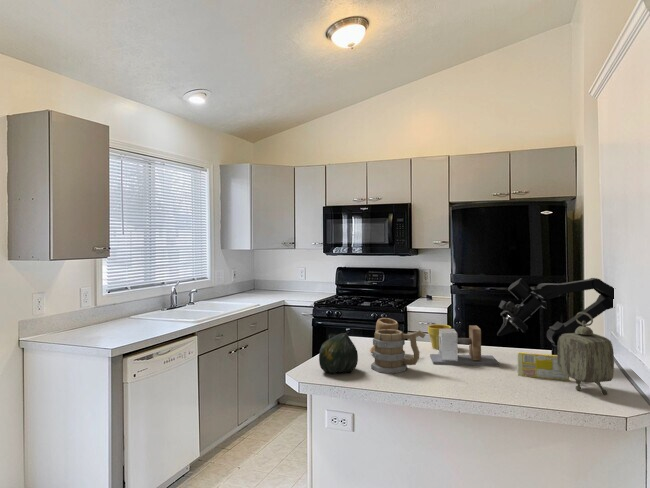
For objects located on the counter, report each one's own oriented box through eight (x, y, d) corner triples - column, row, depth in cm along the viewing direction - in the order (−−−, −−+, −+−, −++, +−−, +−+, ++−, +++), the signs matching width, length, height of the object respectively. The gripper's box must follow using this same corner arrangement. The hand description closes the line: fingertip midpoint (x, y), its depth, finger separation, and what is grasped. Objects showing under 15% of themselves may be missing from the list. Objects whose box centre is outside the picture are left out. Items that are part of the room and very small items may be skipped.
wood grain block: (476, 355, 183) (476, 325, 183) (481, 360, 175) (480, 329, 175) (444, 354, 184) (444, 325, 184) (446, 359, 176) (446, 328, 176)
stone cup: (395, 358, 185) (395, 322, 185) (367, 356, 189) (367, 320, 189) (401, 349, 199) (401, 316, 199) (375, 348, 203) (375, 315, 203)
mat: (492, 357, 184) (492, 355, 184) (499, 365, 172) (499, 363, 172) (430, 356, 187) (430, 354, 187) (433, 364, 175) (433, 361, 175)
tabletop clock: (614, 396, 137) (613, 315, 137) (589, 399, 135) (588, 316, 135) (578, 382, 151) (577, 308, 151) (555, 384, 150) (554, 309, 150)
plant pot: (426, 349, 199) (426, 327, 199) (429, 344, 209) (429, 323, 209) (450, 351, 195) (450, 329, 195) (452, 346, 205) (452, 325, 205)
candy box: (568, 379, 155) (568, 355, 155) (569, 381, 153) (569, 357, 153) (517, 374, 162) (517, 351, 162) (517, 375, 160) (517, 352, 160)
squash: (305, 355, 169) (325, 329, 162) (332, 350, 179) (351, 325, 173) (325, 387, 161) (347, 360, 155) (352, 379, 172) (373, 354, 166)
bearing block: (454, 355, 184) (453, 328, 184) (457, 361, 175) (457, 333, 175) (439, 355, 185) (438, 328, 185) (441, 360, 176) (441, 333, 176)
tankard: (368, 371, 166) (368, 331, 166) (376, 362, 178) (376, 325, 178) (423, 376, 159) (422, 334, 159) (427, 367, 171) (427, 328, 171)
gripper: (505, 291, 186) (478, 317, 188) (519, 296, 168) (488, 325, 169) (525, 310, 185) (497, 336, 187) (541, 317, 167) (510, 346, 168)
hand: (497, 335), depth 178 cm, fingers closed
